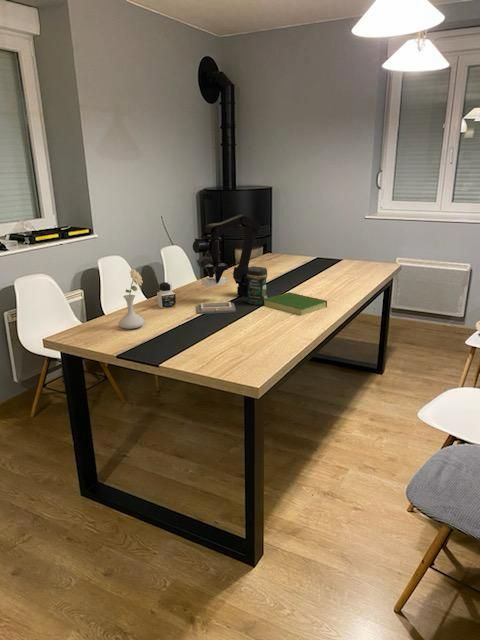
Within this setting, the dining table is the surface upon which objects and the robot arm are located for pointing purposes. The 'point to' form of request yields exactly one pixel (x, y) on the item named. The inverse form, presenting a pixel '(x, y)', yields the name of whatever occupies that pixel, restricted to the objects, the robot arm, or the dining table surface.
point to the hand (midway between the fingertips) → (214, 281)
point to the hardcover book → (295, 303)
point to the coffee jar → (257, 285)
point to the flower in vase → (131, 318)
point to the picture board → (216, 307)
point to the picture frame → (213, 281)
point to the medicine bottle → (166, 296)
